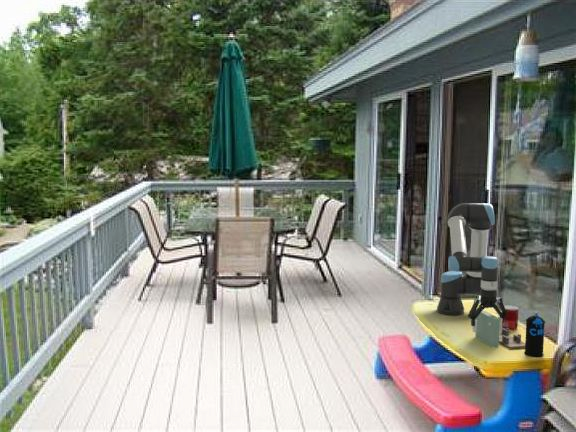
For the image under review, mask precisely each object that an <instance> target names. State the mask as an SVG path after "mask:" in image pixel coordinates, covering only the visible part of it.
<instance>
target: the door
mask: <svg viewBox="0 0 576 432" xmlns="http://www.w3.org/2000/svg"><path fill="white" fill-rule="evenodd" d="M476 320H477V333H475V338H476V339H478V340H480V341H481V342H482V343H485V344H486V345H488V346H489V345H490V347H491V348H493V347H496V348H499V347H500V343H499V326H500V319H499V318H498V316H495V315H493V314H492V313H489V312H487V311H485V310H484V309H483V310H482V312H481V313H480V314H479V315H478V317H477V318H476Z"/></svg>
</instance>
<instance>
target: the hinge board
mask: <svg viewBox="0 0 576 432" xmlns="http://www.w3.org/2000/svg"><path fill="white" fill-rule="evenodd" d="M499 345H502V346H503V347H505V348H506V349H509V350H518V349H525V342H524V341H522V334H520V333H518V334H513V336H512V335H511V334H510V330H509V328H506V329H504V328H503V327H502V331H499Z"/></svg>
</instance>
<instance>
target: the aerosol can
mask: <svg viewBox="0 0 576 432" xmlns="http://www.w3.org/2000/svg"><path fill="white" fill-rule="evenodd" d="M525 321H526V322H525V324H526V325H525V342H524V343H525V348H524V351H523V352H524V355H526V356H528V357H531V356H532V358H541V357H543V356H545V355H544V341H545V324H546V321H545V320H544V319H543V317H541V316H539V312H538V311H533V314H532V315H531V316H527V318H526V319H525Z"/></svg>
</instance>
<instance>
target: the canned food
mask: <svg viewBox="0 0 576 432" xmlns="http://www.w3.org/2000/svg"><path fill="white" fill-rule="evenodd" d="M504 307H505V309H506V312H507V314H508V316H505V318H504V323H503V324H502V328H504V329H506V328H509V331H511V330H512V331H513V330H517V329H518V326H519V325H518V323H519V307H518V306H514V305H511V304H510V305H504ZM502 314H503V313H502Z"/></svg>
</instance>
